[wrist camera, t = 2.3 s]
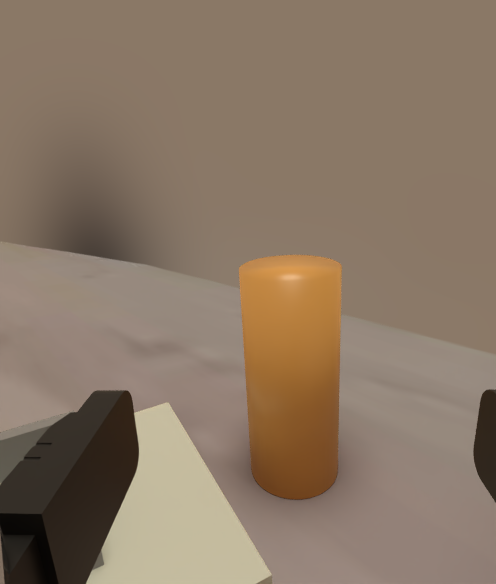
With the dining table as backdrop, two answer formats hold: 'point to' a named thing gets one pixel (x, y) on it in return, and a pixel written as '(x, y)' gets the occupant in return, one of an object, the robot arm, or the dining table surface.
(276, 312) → the orange cylinder
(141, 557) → the cream slab
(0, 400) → the dining table surface
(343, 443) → the dining table surface
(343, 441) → the dining table surface
